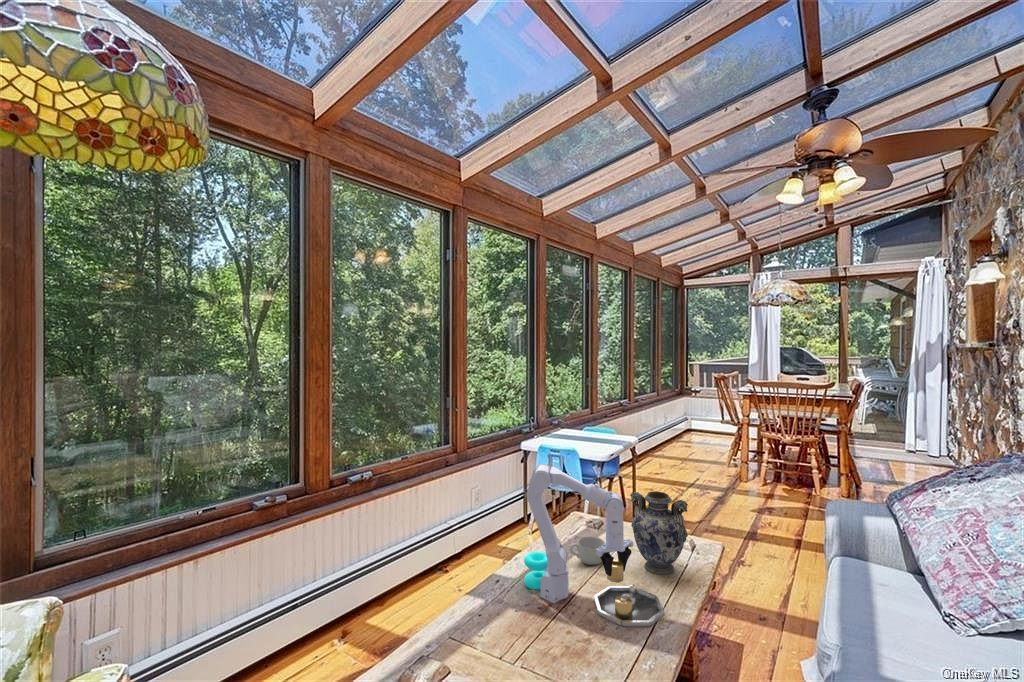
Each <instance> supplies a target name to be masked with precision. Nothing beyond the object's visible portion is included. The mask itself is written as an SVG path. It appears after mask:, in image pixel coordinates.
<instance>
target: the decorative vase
mask: <svg viewBox="0 0 1024 682" xmlns="http://www.w3.org/2000/svg"><path fill="white" fill-rule="evenodd" d="M629 496H630V499H631V500H630V503H631V502H632V503H633V504H634V505H635V508H634V516H633V519H632V522H631V528H632V532H633V537H634V540H635V543H636V547H637V549H638V551H639V553H640V555H641V556H642V558H644V560H646V561H645V563H644V568H645V569H646V570H647V572H649V573H651V574H655V575H661V576H663V575H664V576H665V575H671V574H672V573H674V571H675V568H674V565H673V563H674V562H676V561H677V560H678V558H679V557H680V556H681V553H682V551H683V548H684V545H685V543H686V542H687V537H689V533H688V531H687V529H686V526H685V518H684V516H683V513H684V512H685V513H687V512H688V505H689V504H688V503H687V501H686V500H683V499H678V500H675V501H672V497H670V496H669V494H667V493H666V492H662V491H650V492H648V493H647V494H646V495H645V496H644V495H643V494H641V493H639V492H638V491H634V492H633V491H632V492H631V493H630V494H629ZM647 503H648V504H647ZM670 503H671V507H670V506H669V504H670ZM669 507H670V508H671V509H669Z"/></svg>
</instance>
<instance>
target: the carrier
mask: <svg viewBox="0 0 1024 682" xmlns="http://www.w3.org/2000/svg"><path fill="white" fill-rule="evenodd" d="M635 585H636V584H633V583H630V584H629V585H608V586H607V587H605V588H604V589H601V590H600V591H599V592H597V593H596V594H594V595H593V601H594V607H595V609H596V612H597V614H598V615H599V616H600V617H603V618H604V619H605V620H607V621H610V622H611V623H613V624H614V623H615V624H616V625H618V626H622V627H631V628H632V627H634V628H635V627H636V628H638V627H639V628H640V627H651V626H652V625H654V624H656V623H658V621H659V620H660V619H661V618H662V617H664V616H665V609H664V608H663V606H662V603H661V601H660V600H659V597H658V596H657V595H656V594H654V593H651V592H649V591H647V590H644V589H641V588H639V587H637V586H635Z"/></svg>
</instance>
